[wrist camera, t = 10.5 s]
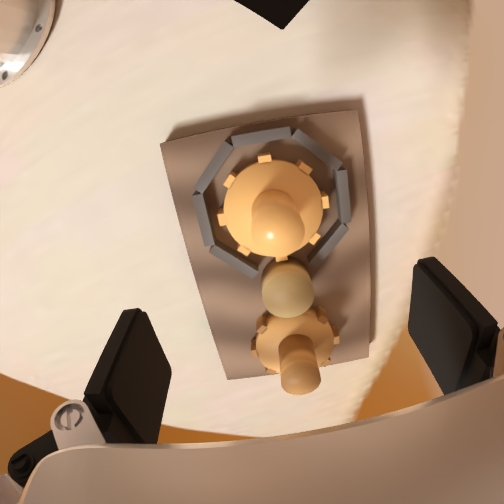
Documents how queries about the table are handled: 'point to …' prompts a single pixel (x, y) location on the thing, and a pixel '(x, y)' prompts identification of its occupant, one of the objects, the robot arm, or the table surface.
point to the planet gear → (272, 207)
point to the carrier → (265, 267)
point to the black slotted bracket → (275, 9)
